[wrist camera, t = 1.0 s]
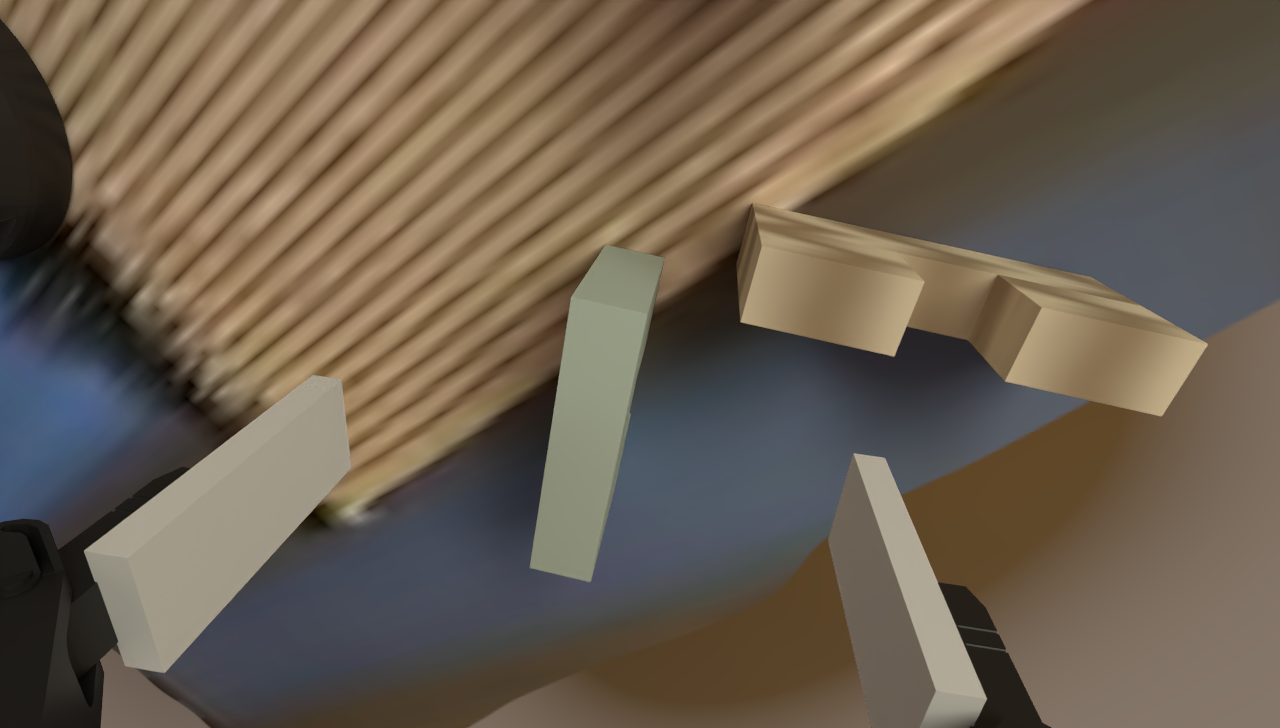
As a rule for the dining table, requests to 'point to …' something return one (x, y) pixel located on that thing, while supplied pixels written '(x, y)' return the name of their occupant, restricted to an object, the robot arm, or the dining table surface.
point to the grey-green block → (593, 408)
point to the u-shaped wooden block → (959, 308)
